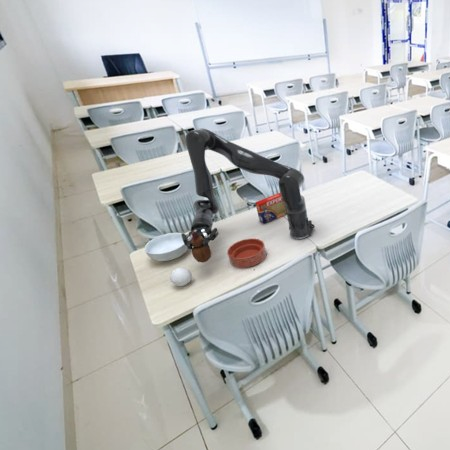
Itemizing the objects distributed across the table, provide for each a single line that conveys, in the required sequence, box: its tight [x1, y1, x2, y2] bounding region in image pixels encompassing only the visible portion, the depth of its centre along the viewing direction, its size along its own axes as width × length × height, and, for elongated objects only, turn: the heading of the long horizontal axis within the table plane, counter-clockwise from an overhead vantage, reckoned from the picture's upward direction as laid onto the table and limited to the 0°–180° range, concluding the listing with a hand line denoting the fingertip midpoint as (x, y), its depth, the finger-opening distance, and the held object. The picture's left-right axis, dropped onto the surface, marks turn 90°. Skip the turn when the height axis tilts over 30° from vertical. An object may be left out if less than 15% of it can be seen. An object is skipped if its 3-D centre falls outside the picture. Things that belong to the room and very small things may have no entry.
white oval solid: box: [165, 267, 193, 287], centre depth 140 cm, size 10×7×7 cm
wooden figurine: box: [191, 231, 212, 264], centre depth 141 cm, size 7×6×15 cm
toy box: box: [254, 192, 287, 225], centre depth 185 cm, size 18×4×12 cm, turn 138°
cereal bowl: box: [144, 232, 189, 262], centre depth 157 cm, size 17×17×7 cm
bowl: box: [226, 238, 267, 268], centre depth 156 cm, size 15×15×6 cm
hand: (197, 246), depth 139 cm, fingers closed on wooden figurine, 4 cm apart
